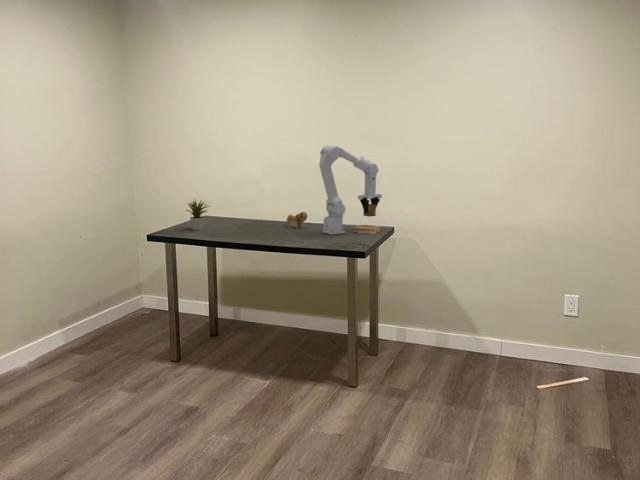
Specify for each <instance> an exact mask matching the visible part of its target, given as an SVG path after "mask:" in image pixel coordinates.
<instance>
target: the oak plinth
mask: <svg viewBox="0 0 640 480" xmlns="http://www.w3.org/2000/svg"><path fill="white" fill-rule="evenodd" d="M353 228H354V229H353V230H354V232H358V233H357V234H366V233H369V235H377V232H378V233H379V232H380V231H381V225H371V224H359V225H357V226H355V227H353Z"/></svg>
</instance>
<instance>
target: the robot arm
mask: <svg viewBox="0 0 640 480" xmlns="http://www.w3.org/2000/svg"><path fill="white" fill-rule="evenodd" d="M319 155H320V158H319V169H320V173H321V174H320V175H321V178H322V181H323V184H324V188H325V193H326V197H327V199H326V201H325V202H326V206H325V207H326V208H325V209H326V211H327V213H328V215H327V216H325V217H324V218H323V224H322V225H323V231H322V233H324V234H328V235H340V234H346V233H347V231H343V229H344V228H343V227H344V225H343V224H344V223H343V222H344V221H343V219H344V215H345V212H346V206H345V204H344V203H343V201H342V199H341V197H340V196H339V193H338V190H337V185H336V183H335V182H336V181H335V178H334V173H333V169H332V165H333V164H334V163H335V162H336V161H337V160H338V159H339V158H341V159H344V160H346V161H348V162H350V163H352V165H353V167H355V168H356V169H358V170H360V171H362V172H363V173H364V194H359V195H357V200H359V201H360V203H361V205H362V209H363V214H364V213H368V204H375V205H376V208H377V206H378V204H379V202H380V200H381V199H383V195H382V194H380V193H378V194H377V193H376V190H377V189H376V187H377V186H376V185H377V175H378V173H379V167H378V166H377V164H376V163H373V162H371V160H368V159H367V160H366V159H365V158H364V156H355V155H353V154H352V153H351V152H349V151H347V150H345V149H344V148H342V147H339V146H336V145H334V146H333V145H331V146H330V145H325V146H323V147H322V149H321V150H320V152H319ZM369 199H370V200H369Z"/></svg>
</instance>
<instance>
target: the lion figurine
mask: <svg viewBox="0 0 640 480" xmlns="http://www.w3.org/2000/svg"><path fill="white" fill-rule="evenodd" d="M286 218H287V219H286V221H285V223H284V224H283V225H282V226H283V227H284V226H286V225H287V228H289V227H290V228H291V225H290V224H291V223H294V224H296V228H297V229H298V228H300V229H302V224H303V223H305V222H306V220H307V219H308V213H307V211H302V212H299V213H297V214H296V215H293V214H288V216H287V217H286Z"/></svg>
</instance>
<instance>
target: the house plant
mask: <svg viewBox="0 0 640 480" xmlns="http://www.w3.org/2000/svg"><path fill="white" fill-rule="evenodd" d="M205 203H206V204H205ZM209 203H210V204H211V202H206V201H203V199H201V200H199V203H197V200H196V198H194V200H192V201H191V202H186V204H187V205H188V207H189V208H190V209H191V210H189V209H185V210H184V211H185V212H186V211H187V212H190V214H191V215H192V216H191V217H190V218H189V219H190V223H191V228H192V230H193V231H201V230H203V227H204V219H205V218H204V217H203V216H202V215H203V214H206V212H207V213H208V212H209V210H210V209H208V208H210V207H211V205H208V204H209ZM206 208H207V209H206Z"/></svg>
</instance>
